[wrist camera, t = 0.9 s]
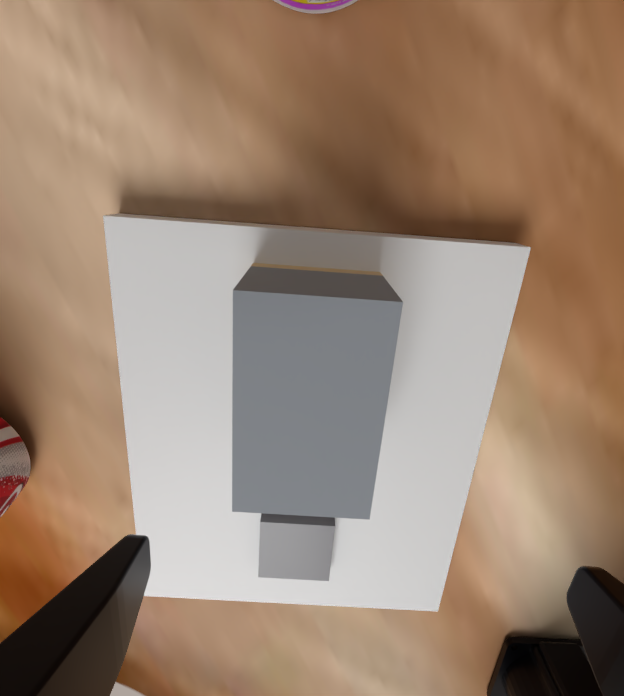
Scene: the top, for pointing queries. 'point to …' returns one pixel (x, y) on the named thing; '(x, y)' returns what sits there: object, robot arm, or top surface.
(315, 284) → the block
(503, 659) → the robot arm
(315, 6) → the supplement bottle
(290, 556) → the graphite chip
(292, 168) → the top surface
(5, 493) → the soda can
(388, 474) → the board
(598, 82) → the top surface
